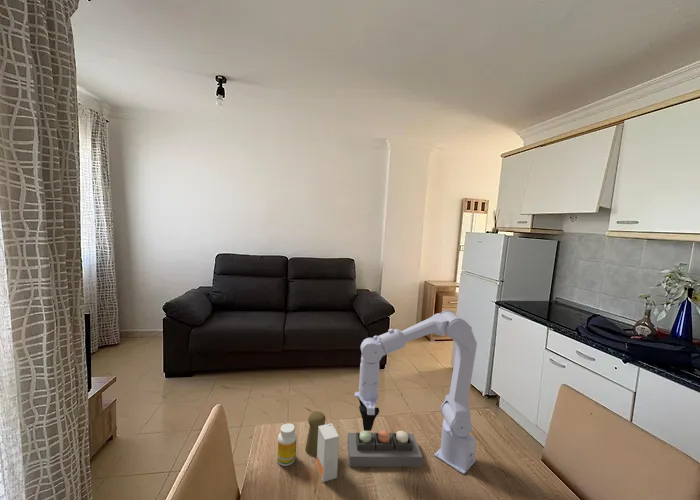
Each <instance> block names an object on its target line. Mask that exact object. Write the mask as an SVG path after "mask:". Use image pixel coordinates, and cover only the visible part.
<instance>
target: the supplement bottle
mask: <svg viewBox="0 0 700 500" xmlns="http://www.w3.org/2000/svg"><path fill="white" fill-rule="evenodd" d="M279 431H280V432H279V434H278V436H277V442H276V443H277V445H276V462H277V463H278V465H280V466H282V467H283V466H284V467H287V466H290V465H292V464H294V462H295V460H296V458H297V456H296V455H297V438H298V437H297V434H296V432H295V431H296V427H295V425H294V424H292V423H290V422H288V423H284V424H282V425H281V427H280V429H279Z"/></svg>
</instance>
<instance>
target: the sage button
mask: <svg viewBox="0 0 700 500" xmlns="http://www.w3.org/2000/svg"><path fill="white" fill-rule="evenodd" d="M359 433H360V436H359V440H360V441H361V442H362V443H370V442H371V437H372V434H371V433H372V432H371V431H364V429H363V430H360V432H359Z"/></svg>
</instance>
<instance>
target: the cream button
mask: <svg viewBox="0 0 700 500" xmlns="http://www.w3.org/2000/svg"><path fill="white" fill-rule="evenodd" d="M395 433H396V440H397V442H399V443H401V444H406V443H407V442H408V434H409V433H408V432H406V431H404V430H398V431H397V432H395ZM407 433H408V434H407Z"/></svg>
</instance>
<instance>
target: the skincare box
mask: <svg viewBox="0 0 700 500" xmlns="http://www.w3.org/2000/svg"><path fill="white" fill-rule="evenodd" d="M339 445H340V436H339V434H338V432H337V429H336V427H335V425H333V423H332V422H331V423H328V424H326V423H325V424H324V425H321V426H318V444H317V456H316V465H315V466H316V468H317V471H318V473H319V475H320V477H321V479H320V480H322V483H325V482H328V481H332V480H335V479H337V478H338V466H339V465H338V463H339V450H340V449H339V448H340V447H339Z"/></svg>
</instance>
